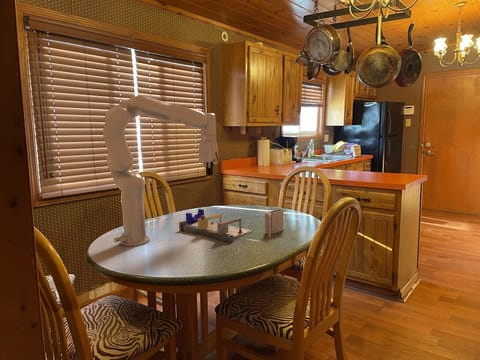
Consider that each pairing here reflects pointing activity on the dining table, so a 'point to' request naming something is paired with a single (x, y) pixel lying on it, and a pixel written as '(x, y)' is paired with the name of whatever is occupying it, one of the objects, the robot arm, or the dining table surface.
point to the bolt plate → (231, 229)
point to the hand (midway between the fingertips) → (209, 175)
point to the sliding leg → (204, 220)
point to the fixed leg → (224, 225)
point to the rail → (205, 232)
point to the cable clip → (191, 219)
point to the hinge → (273, 221)
